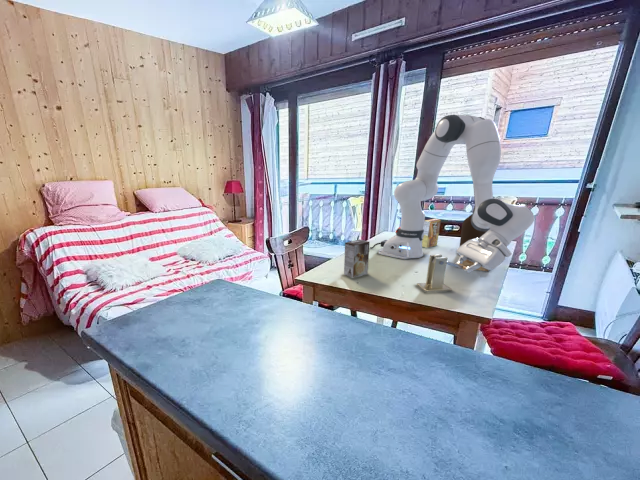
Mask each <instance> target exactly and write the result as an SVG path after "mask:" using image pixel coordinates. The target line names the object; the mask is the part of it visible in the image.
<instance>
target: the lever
mask: <svg viewBox="0 0 640 480" xmlns="http://www.w3.org/2000/svg"><path fill="white" fill-rule="evenodd" d="M435 258H439V257H434V259H433V261H432V262H433V263H434V261H435ZM455 263H456V262H450V261H447V265H446V266H451V267H455V268H459V269H462V270H464V271H465V268H467V267H466V266H464V265H462V264H460V263H459V264H455Z"/></svg>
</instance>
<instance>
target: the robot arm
mask: <svg viewBox="0 0 640 480" xmlns="http://www.w3.org/2000/svg"><path fill="white" fill-rule="evenodd" d="M455 145H465V149H466V158H467V163H468V168H469V171H470V175H471V180H472V185H473V198H474V199H473V200H474V206H475V209H474V208H473V209H474V212H473V211H472V213H471V214H472V217H471V224H472V226H473V227H474V228H475V229H476V230H479V231H485V234H484V235H482V236H481V237H480V238H475V239H471V240H468V241H467V242H465V243H464V244H463V245H461V246H460V245H459V246H460V247H459V246H458V247H457V249H456V250H455V252H456V254H457V255H459V257H458V260H456V262H454V263H455V264H459V263H460V264H462V263H463V261H465V260H469V261H471V262H473V263H474V265H472V266H470V267H469V266H468V267H467V268H465V270H464V271H465V272H466V273H468V274H470V273H472V272H473V271H475V270H476V269H478V268H480V267H481V266H482V267H484V268H486V269H488V271H492V270H494V269H496V268H497V267H499V266H500V265H501V264H503V262H505V260H506V258H509V257H511V256H512V254H513V253H512V252H511V250H510V249H509V247H508V246H509V245H510V244H511V243H512V242H513V241H514V240H515V239H517V238H519V237H520V236H521V235H522V234H524V233H525V232H526V231H527V230H528V229H529V228H530V227H531V226H532V225H533V224H534V222H535V215H534V212H533V211H532V210H531V209H530V208H529V207H527V206H525V205H522V204H521V205H520V204H519V205H516V204H511V203H507V202H505V201H502V200H501V199H498V198H494V194H493V193H494V192H493V182H494V181H493V180H494V177H495V174H496V172H497V169H498V167H499V165H500V162H501V156H502V145H501V138H500V134H499V130H498V127H497V125H496V122H495V121H494V120H492V119H490V118H489V119H488V118H484V117H482V116H474V115H469V114H448V115H444V116H443V117H442V118H441V119H439V121H438V122H437V124H436V126H435V129H434V131H433V132H432V133H431V135H430V137H429V139H428V140H427V142H426V143H425V145H424V148H423V149H422V151H421V154H420V156H419V158H418V160H417V162H416V165H415V166H416V169H417V174H416V177H415V178H414V179H412V180H411V179H410V180H406V181H403V182H401V183H399V184H398V185H397V186H396V187H395V189H394V193H393V195H394V199H395V201H396V202H398V204H399V207H400V212H401V213H400V214H401V217H400V226H398V228H397V229H395V235H393V236H392V237H390V238H388V239H384V240H382V241H380V242H377V243H375V244H374V245H372V247H371V246H369V250H372V249H374V248H375V247H376V246H378V245H380V247H381V248H380V249H379V250H378V252H377V253H378V255H381V256H386V257H391V258H397V259H402V260H408V259H418V258H422V257H424V252H423V247H422V240H423V237H424V229H423V228H424V221H425V220H426V213H425V212H424V211H423V209H422V202H423V201H428V200H430V199H432V198H434V197H435V196H436V195H437V194H438V191H439V184H438V180H439V175H440V172H441V170H442V168H443V166H444V164H445V162H446V160H447V159H448V157H449V155H450V153H451V150H452V149H453V147H454V146H455ZM476 271H477V270H476Z"/></svg>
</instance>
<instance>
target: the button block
mask: <svg viewBox="0 0 640 480" xmlns="http://www.w3.org/2000/svg"><path fill="white" fill-rule="evenodd" d="M462 265H464V266H466V267H468V266H469V267H470V266H472V265H474V263H473V262H471V261H469V260H465V261H463V263H462ZM476 271H483V272H488V271H489V270H488V269H486V268H484V267H482V266H481V267H480V268H478V269H476Z"/></svg>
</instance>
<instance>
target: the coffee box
mask: <svg viewBox="0 0 640 480" xmlns="http://www.w3.org/2000/svg"><path fill="white" fill-rule="evenodd" d="M370 244H371V243H370V241H368V240H363V239H356V240H350V241H346V242H344V260H343V261H344V262H343V264H344V265H343V275H345V276H348V277H350V278H359V277H362V276H366V275H369V273H368V272H369V257H370V256H369V255H370Z"/></svg>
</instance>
